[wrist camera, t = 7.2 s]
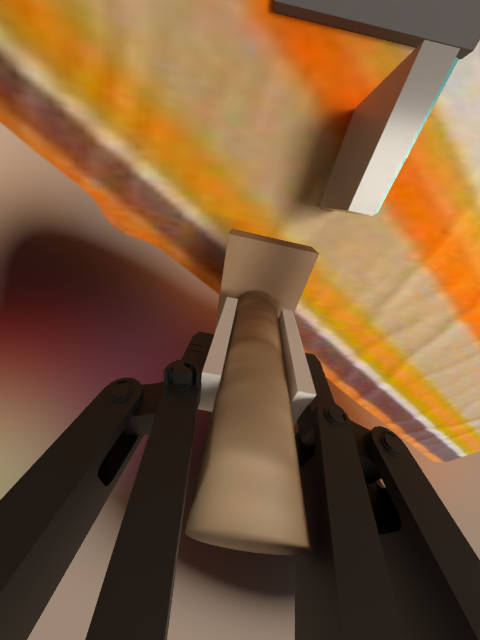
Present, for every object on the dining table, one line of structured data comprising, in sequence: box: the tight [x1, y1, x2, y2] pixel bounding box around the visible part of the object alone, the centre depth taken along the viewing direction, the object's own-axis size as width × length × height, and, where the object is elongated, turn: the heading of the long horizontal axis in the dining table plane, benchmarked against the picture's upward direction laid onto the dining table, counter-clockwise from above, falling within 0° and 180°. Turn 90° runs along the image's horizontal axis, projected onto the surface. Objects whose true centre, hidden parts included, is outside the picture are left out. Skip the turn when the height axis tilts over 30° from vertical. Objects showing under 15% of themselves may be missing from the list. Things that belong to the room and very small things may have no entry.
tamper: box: [185, 229, 319, 555], centre depth 11 cm, size 6×10×14 cm, turn 169°
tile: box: [319, 40, 460, 216], centre depth 16 cm, size 2×8×9 cm, turn 169°
